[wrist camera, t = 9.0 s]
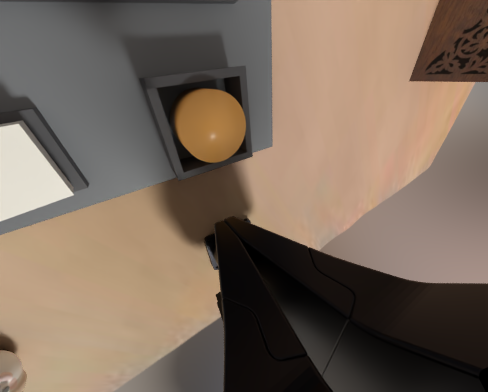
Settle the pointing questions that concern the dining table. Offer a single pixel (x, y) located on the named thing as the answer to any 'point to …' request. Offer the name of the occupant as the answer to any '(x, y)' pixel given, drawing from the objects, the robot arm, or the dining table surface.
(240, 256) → the robot arm
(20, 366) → the garlic bulb
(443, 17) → the tissue box cover
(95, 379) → the dining table surface
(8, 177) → the white slab
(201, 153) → the push button
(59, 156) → the panel
